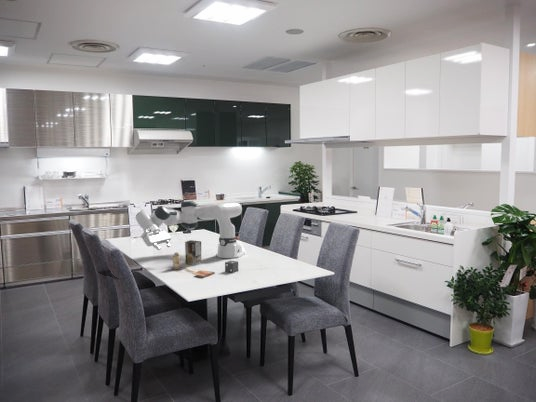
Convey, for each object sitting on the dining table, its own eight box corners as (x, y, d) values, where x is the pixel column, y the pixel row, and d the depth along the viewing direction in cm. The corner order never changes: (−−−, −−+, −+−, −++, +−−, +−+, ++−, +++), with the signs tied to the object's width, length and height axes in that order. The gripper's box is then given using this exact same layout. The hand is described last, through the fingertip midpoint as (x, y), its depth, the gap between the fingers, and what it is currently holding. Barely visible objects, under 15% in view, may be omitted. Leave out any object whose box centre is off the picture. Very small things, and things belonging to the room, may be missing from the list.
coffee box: (202, 265, 302) (201, 241, 301) (195, 267, 297) (195, 242, 295) (191, 263, 307) (191, 239, 305) (185, 265, 301) (184, 241, 300)
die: (230, 269, 290) (230, 260, 289) (238, 270, 287) (238, 261, 287) (225, 271, 285) (224, 262, 284) (233, 273, 282) (233, 263, 281)
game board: (176, 267, 295) (176, 265, 294) (214, 273, 280) (214, 271, 280) (164, 271, 284) (164, 270, 284) (202, 278, 270) (202, 276, 270)
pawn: (176, 267, 290) (176, 251, 289) (181, 268, 288) (181, 252, 287) (171, 269, 286) (171, 252, 285) (177, 270, 284) (176, 253, 283)
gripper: (161, 232, 304) (172, 248, 300) (138, 237, 286) (150, 254, 282) (166, 226, 301) (177, 242, 297) (143, 230, 283) (155, 247, 280)
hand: (164, 248), depth 290 cm, fingers open, 8 cm apart
